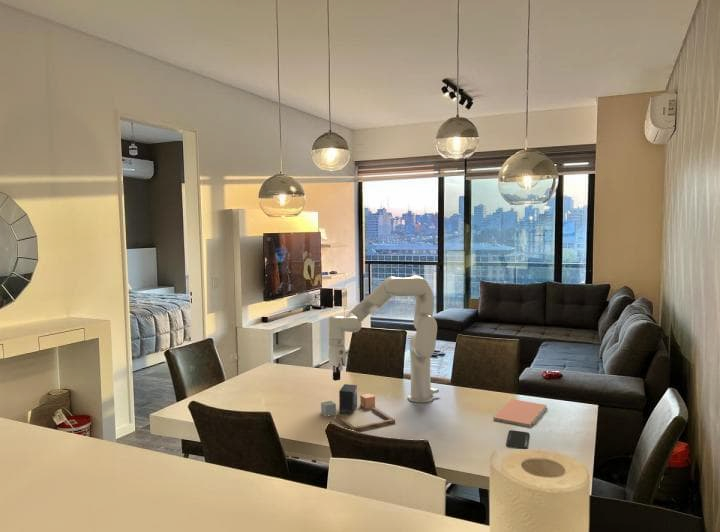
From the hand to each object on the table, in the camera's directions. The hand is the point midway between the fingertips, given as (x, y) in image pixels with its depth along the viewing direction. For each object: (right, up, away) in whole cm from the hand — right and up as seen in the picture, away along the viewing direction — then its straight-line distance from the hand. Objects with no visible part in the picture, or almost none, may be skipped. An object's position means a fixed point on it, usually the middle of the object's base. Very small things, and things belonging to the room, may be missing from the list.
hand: (336, 379), depth 246 cm
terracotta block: (+15, -12, -4) cm, 19 cm away
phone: (+72, -14, -45) cm, 86 cm away
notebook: (+83, -12, -17) cm, 85 cm away
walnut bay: (+13, -13, -22) cm, 28 cm away
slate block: (-3, -12, -13) cm, 19 cm away
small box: (+6, -12, -9) cm, 16 cm away
